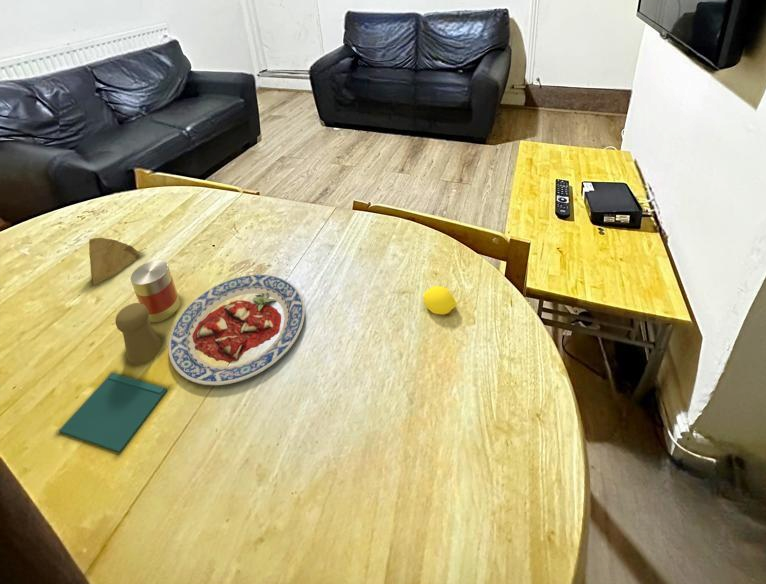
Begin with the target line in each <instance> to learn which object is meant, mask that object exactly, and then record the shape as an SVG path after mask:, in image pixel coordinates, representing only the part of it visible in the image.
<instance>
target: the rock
mask: <svg viewBox="0 0 766 584" xmlns="http://www.w3.org/2000/svg"><path fill="white" fill-rule="evenodd" d="M88 243H89V244H88V245H89V246H88V249H89V253H88V254H89V264H90V275H91V279H92V283H93V285H97V284H99V283H101V282H103V281H105V280H106V279H109V278H111V277H113V276H115V275H117V274H118V273H120V272H121V271H123V269H124V268H126V267H128V266H130V265H131V264H132V263H133V262H135V261H136V260H139V259H140V258H142V255H141V252H139V251H138V250H137V249H136V248H134V246H132V245H130V244H127V243H124V242H121V241H118V240H116V239H111V238H106V237H94V238H90V239H89V241H88Z"/></svg>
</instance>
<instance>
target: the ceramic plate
mask: <svg viewBox="0 0 766 584" xmlns="http://www.w3.org/2000/svg"><path fill="white" fill-rule="evenodd" d="M253 294H255V295H254V297H253V298H252V300H253V301H255V302H256V303H252V302H251V301H250V300H243V299H242V300H235V301H231V302H230V303H227V304H224V303H225V302H227V301H229V300H231V299H234V298H236V297H240V296H244V295H253ZM268 297H270V298H268ZM274 301H276V302H277V303H278V304H279V305H280V307H281V308H282V312H283V325H282V328H281V323H282V315H281V313H280V312H279V311H278V309H277V308H275V307H274V306H272V305H271V304H270V303H269V302H274ZM222 304H223V305H222ZM257 304H259V305H257ZM220 305H221V306H220ZM218 306H219V308H217V307H218ZM216 308H217V309H216ZM214 309H215V310H214ZM305 313H306V308H305V301H304V299H303V296H302V294H301V293H300V291H299V290H298V289H297V287H296V286H294V284H292V283H291V282H289V281H288V280H286V279H284V278H282V277H279V276H276V275H272V274H271V275H269V274H248V275H242V276H238V277H234V278H231V279H228V280H226V281H223V282H221V283H219V284H217V285H215V286H213V287H211V288H209V289H208V290H206V291H205V292H203V293H202V294H200V295H199V296H198V297H197V298H195V299H194V300H193V301H192V302H191V303H189V305H188V306H187V307H186V308H185V309H184V310H183V312H182V313H181V314H180V315H179V317H178V318H177V320H176V321H175V323H174V325H173V327H172V330H171V331H170V336H169V340H168V346H167V347H168V356H169V360H170V362H171V365H172V367H173V368H174V369H175V370H176V372H177V373H178V374H179V375H180V376H182V377H183V378H185V379H186V380H187V381H190V382H193V383H195V384H198V385H204V386H223V385H224V386H225V385H230V384H235V383H239V382H242V381H245V380H247V379H250V378H252V377H254V376H256V375H258V374H260V373H262V372H264V371H266V370H267V369H268V368H270V367H272V366H273V365H274V364H276V362H278V361H279V360H280V359H282V357H283V356H284V355H285V354H286V353H287V352H288V351H289V350H290V349H291V348H292V346H293V345H294V343H295V342H296V340H297V339H298V337H299V335H300V333H301V331H302V328H303V325H304V322H305V315H306V314H305ZM280 329H281V330H280ZM278 334H279V335H278ZM276 335H278V336H277V338H276V339H275V340H274V342H273V343H272V344H271V345H270V346H269V347H268V348H267V349H266V350H265V351H263V352H262V353H261V354H259V355H258V356H256V357H254V358H252V359H250V360H248V361H246V362H245V361H244V362H243V363H239V364H236V365H228V366H227V365H215V364H211V363H209V362H208V361H206V360H205V359H203V358H202V357H201V356H200V355H199V353H198V351H199V352H202V353H203V355H206V356H207V357H208V358H213V359H214V360H215V361H216V362H219V361H224V362H226V363H229V364H231V363H232V362H237V361H238V360H239V359H240V357H241V356H243V355H244V353H246V352H247V351H249V350H250V349H252V348H258V347H259V346H260V345H262V344H264V343H265V342H267V341H271V340H272V339H271V338H274V337H275V336H276ZM197 350H198V351H197Z"/></svg>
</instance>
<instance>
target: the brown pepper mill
mask: <svg viewBox="0 0 766 584" xmlns="http://www.w3.org/2000/svg"><path fill="white" fill-rule="evenodd" d="M148 316H149V312H148V309H147V307H146V306H145V305H143V304H141V303H139V302H133V303H130V304H128V305H126V306H124V307H123V308H121V309H120V310H119V311H118V312H117V314H116V317H115V320H114V322H115V326H116V328H117V330H118V331H120V332H121V333H122V336H123V342H124V346H125V352H126V357H127V361H128V362H129V363H131V364H133V365H138V364H143V363H146V362H148V361H150V360H151V359H153V358H154V357H156V355H157V354H158V353H159V351H161V348H162V343H163V342H162V339H161V338H160V337H159V335H158V332H157V331H156V330H155V328H154V326H153V325H152V322H149V320H148Z"/></svg>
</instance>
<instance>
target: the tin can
mask: <svg viewBox="0 0 766 584" xmlns="http://www.w3.org/2000/svg"><path fill="white" fill-rule="evenodd" d="M130 282H131V285H132V287H133V290H134V294H135V297H136V299H137V303H141V304H143V305H145V306H146V307H147V309H148V312H149V316H148V320H149V322H150V323H160V322H162V321H165V320H167V319H169V318H170V317H172V316H173V315H175V313H176V312H177V311H178V310H179V308H180V305H181V302H180V298H179V295H178V291H177V288H176V284H175V281H174V279H173V276H172V273H171V270H170V267H169V264H168V263H167V261H164V260H162V259H157V260H151V261H148V262H146V263H143V264H141V265H140V266H138V267H137V268H136V269H135V270H134V271H133V272H132V273H131V275H130Z"/></svg>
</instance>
